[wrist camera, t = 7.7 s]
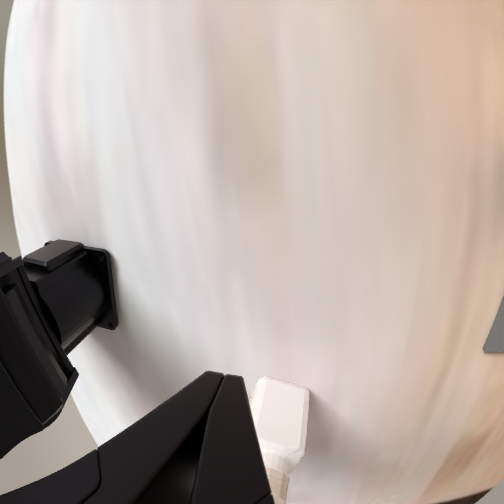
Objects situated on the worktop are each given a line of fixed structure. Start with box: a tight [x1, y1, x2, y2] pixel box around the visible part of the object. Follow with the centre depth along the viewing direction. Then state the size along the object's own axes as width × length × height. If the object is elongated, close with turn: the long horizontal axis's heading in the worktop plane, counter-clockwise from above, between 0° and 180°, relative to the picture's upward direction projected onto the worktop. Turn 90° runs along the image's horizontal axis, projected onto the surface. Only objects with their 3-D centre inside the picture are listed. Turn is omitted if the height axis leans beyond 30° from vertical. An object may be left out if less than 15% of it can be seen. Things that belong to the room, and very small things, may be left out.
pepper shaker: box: [249, 377, 309, 504], centre depth 19 cm, size 4×4×10 cm
